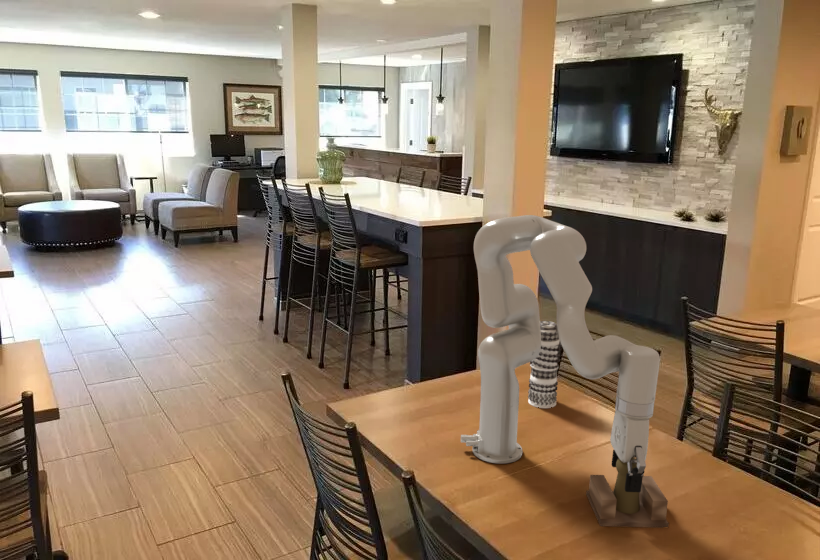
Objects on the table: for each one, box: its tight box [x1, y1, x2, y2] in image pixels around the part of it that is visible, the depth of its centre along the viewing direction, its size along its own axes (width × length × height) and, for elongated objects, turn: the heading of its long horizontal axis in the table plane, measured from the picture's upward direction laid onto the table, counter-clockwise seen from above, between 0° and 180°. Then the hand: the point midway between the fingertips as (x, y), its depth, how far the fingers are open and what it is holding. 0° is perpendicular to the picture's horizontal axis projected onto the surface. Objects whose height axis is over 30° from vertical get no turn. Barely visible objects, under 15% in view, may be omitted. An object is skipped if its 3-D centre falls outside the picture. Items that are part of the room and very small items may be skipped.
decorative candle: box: [527, 320, 562, 409], centre depth 193 cm, size 9×9×25 cm
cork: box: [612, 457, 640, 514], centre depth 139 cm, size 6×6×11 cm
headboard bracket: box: [585, 474, 670, 528], centre depth 139 cm, size 14×12×6 cm
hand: (625, 478), depth 139 cm, fingers open, 9 cm apart
